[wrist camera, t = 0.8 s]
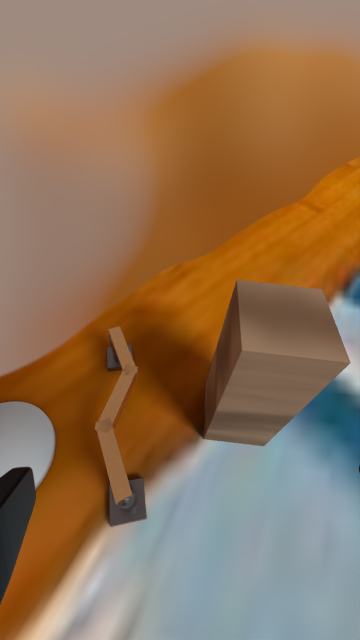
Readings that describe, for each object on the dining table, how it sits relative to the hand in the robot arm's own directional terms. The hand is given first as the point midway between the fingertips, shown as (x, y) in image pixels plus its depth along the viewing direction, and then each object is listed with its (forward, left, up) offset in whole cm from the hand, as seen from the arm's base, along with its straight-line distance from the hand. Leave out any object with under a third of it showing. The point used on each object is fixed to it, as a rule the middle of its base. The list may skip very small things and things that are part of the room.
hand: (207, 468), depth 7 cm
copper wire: (+8, -1, -15) cm, 17 cm away
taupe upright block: (+3, -9, -15) cm, 18 cm away
